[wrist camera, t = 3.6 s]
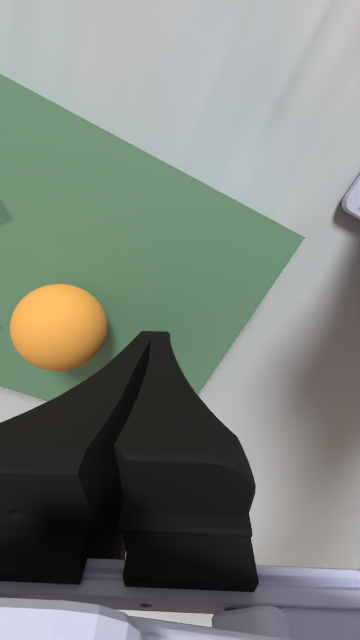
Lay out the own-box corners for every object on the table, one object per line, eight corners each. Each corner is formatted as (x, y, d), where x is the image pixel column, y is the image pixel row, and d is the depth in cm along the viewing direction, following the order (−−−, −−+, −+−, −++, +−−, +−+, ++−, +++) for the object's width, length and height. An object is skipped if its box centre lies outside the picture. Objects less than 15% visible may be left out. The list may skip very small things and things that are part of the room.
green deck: (276, 227, 12) (304, 237, 9) (170, 400, 18) (167, 438, 15) (-171, -11, 9) (-351, -115, 6) (-116, 300, 15) (-190, 326, 12)
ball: (126, 292, 11) (101, 332, 7) (105, 349, 12) (78, 401, 9) (49, 259, 10) (-13, 288, 7) (37, 324, 12) (-18, 371, 8)
